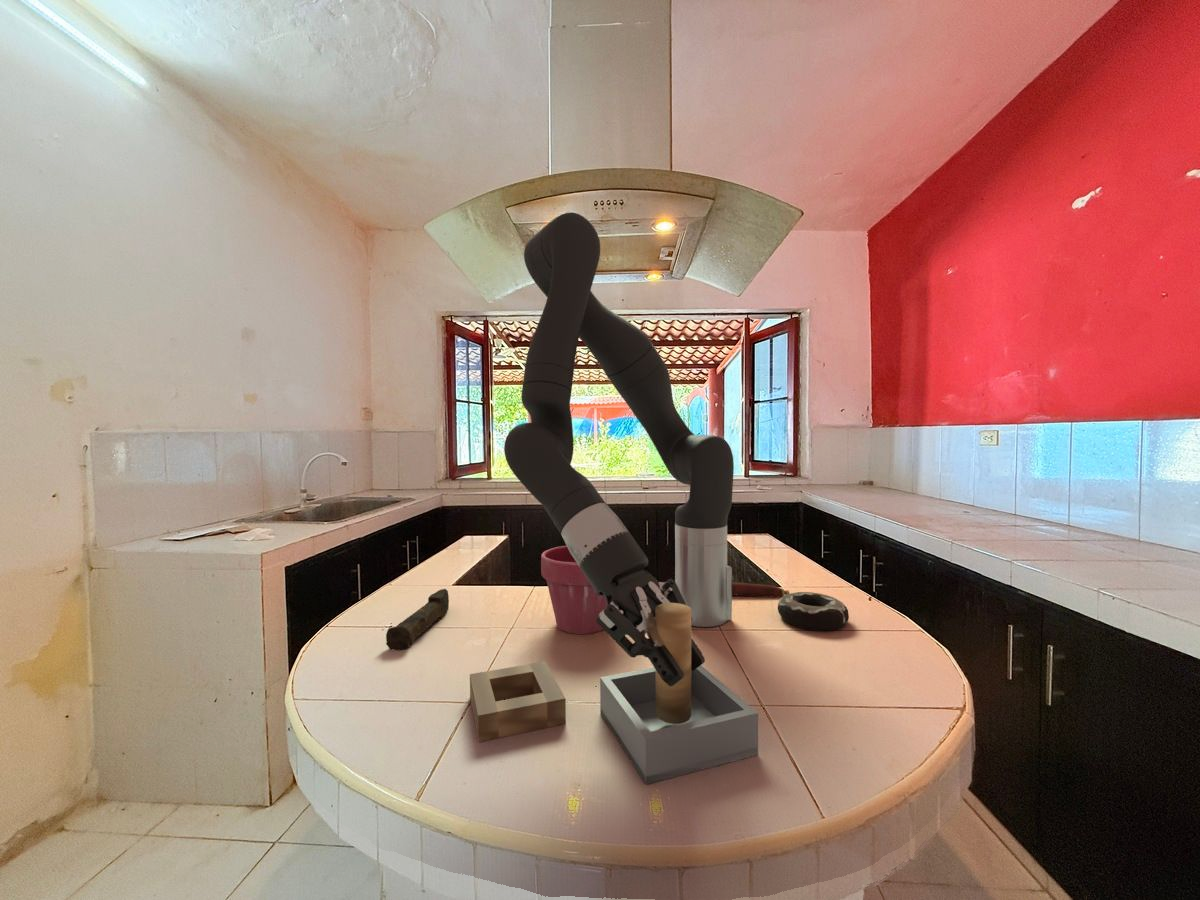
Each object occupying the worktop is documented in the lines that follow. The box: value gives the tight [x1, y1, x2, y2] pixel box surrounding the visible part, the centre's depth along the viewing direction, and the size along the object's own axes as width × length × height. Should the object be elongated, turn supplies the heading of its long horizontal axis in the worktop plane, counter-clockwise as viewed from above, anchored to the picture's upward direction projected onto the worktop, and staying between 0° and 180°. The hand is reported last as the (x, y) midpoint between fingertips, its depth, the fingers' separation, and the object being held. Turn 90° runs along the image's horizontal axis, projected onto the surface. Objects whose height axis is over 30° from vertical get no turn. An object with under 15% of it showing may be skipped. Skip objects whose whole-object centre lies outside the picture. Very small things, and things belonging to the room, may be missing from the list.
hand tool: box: [385, 588, 450, 651], centre depth 88 cm, size 19×4×5 cm, turn 171°
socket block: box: [469, 661, 567, 743], centre depth 62 cm, size 10×10×3 cm
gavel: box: [732, 581, 790, 598], centre depth 104 cm, size 21×5×10 cm
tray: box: [599, 665, 759, 786], centre depth 57 cm, size 13×13×4 cm
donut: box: [777, 591, 850, 632], centre depth 90 cm, size 12×12×4 cm
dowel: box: [655, 603, 692, 724], centre depth 56 cm, size 4×4×12 cm
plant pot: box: [540, 545, 608, 635], centre depth 88 cm, size 14×14×13 cm
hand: (688, 673), depth 55 cm, fingers closed on dowel, 4 cm apart
